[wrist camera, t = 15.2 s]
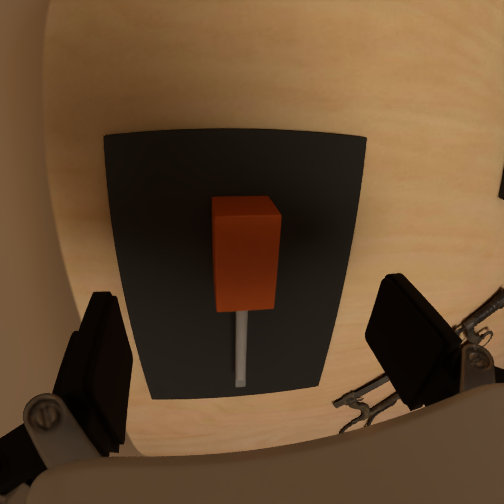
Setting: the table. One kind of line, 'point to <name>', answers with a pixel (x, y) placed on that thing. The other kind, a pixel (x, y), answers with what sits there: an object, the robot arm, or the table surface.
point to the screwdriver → (244, 262)
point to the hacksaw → (350, 399)
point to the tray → (502, 188)
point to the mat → (201, 251)
